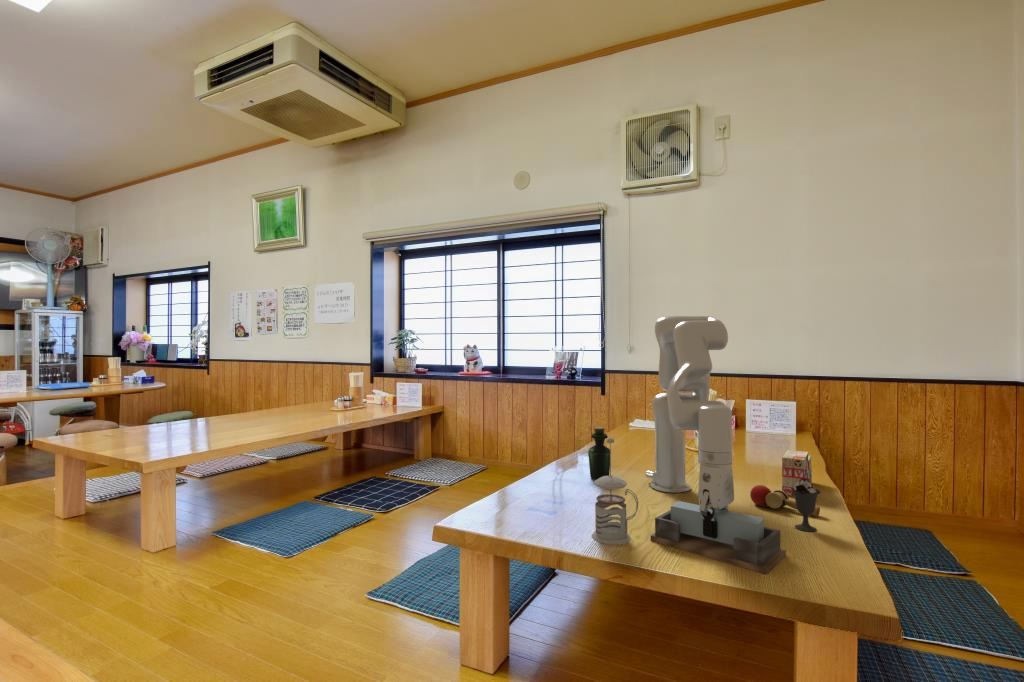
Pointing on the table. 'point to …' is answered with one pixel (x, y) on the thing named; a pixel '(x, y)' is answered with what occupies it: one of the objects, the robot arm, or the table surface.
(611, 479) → the french press
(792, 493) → the stack of blocks
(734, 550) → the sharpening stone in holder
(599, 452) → the potion bottle
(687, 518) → the grey rectangular block
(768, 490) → the kendama
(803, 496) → the sundae
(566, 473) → the table surface
